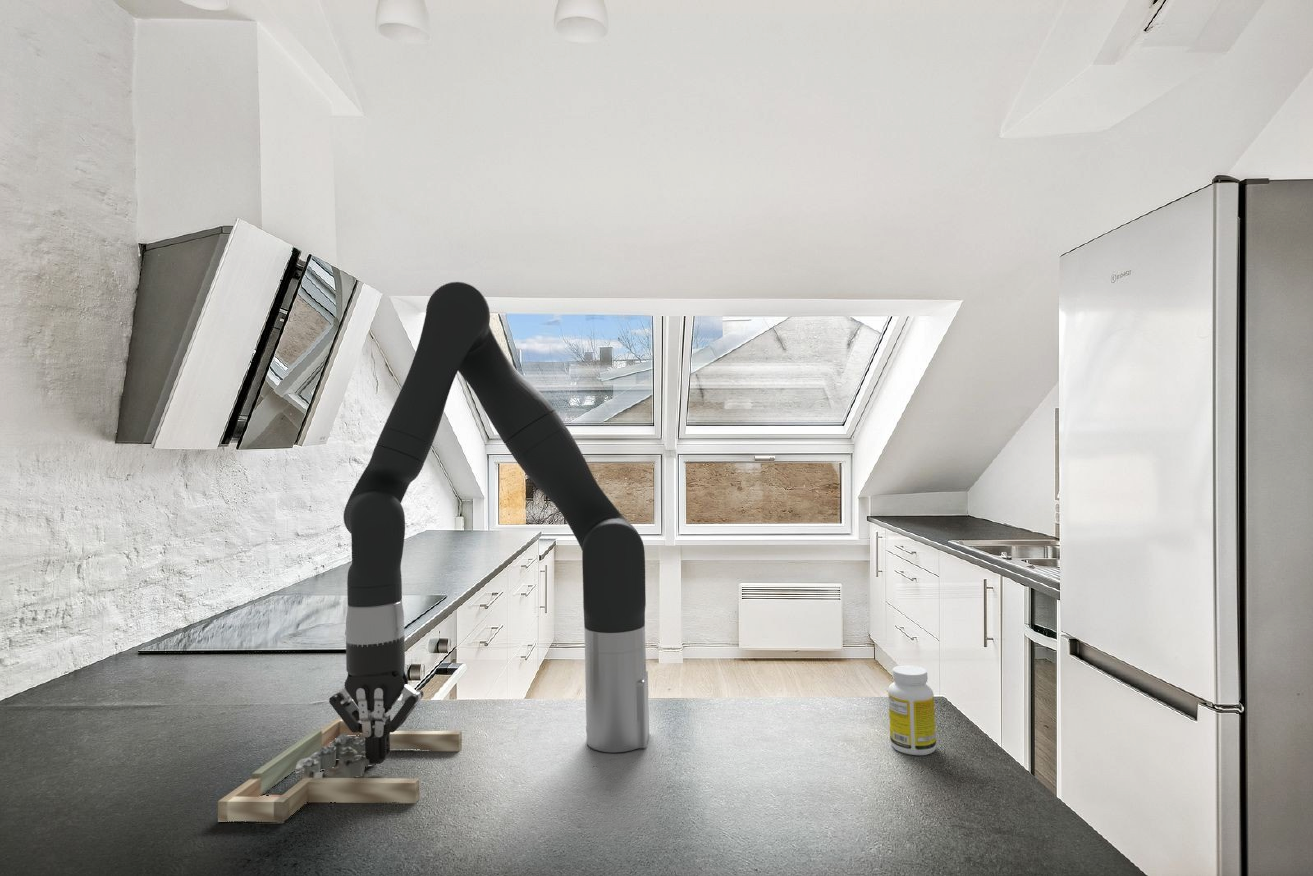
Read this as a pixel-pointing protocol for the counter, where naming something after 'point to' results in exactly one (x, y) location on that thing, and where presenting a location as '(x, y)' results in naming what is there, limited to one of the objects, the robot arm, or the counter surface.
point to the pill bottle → (911, 711)
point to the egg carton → (325, 758)
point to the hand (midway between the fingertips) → (377, 761)
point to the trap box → (340, 790)
